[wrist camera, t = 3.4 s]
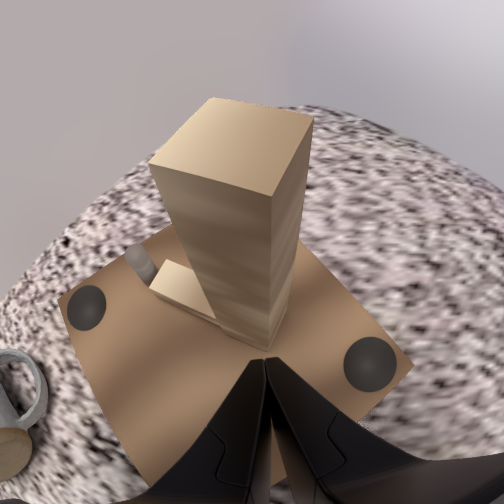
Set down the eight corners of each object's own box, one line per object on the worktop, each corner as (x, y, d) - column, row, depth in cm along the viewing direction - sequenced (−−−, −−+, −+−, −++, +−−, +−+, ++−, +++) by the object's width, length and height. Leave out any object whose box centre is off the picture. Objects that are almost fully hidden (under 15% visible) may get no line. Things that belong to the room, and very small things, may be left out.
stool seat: (406, 368, 15) (442, 352, 12) (189, 524, 11) (167, 551, 7) (243, 193, 23) (239, 150, 19) (66, 306, 19) (30, 279, 15)
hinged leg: (153, 300, 17) (36, 140, 7) (174, 264, 18) (92, 90, 8) (268, 352, 15) (271, 196, 5) (286, 309, 16) (314, 117, 6)
